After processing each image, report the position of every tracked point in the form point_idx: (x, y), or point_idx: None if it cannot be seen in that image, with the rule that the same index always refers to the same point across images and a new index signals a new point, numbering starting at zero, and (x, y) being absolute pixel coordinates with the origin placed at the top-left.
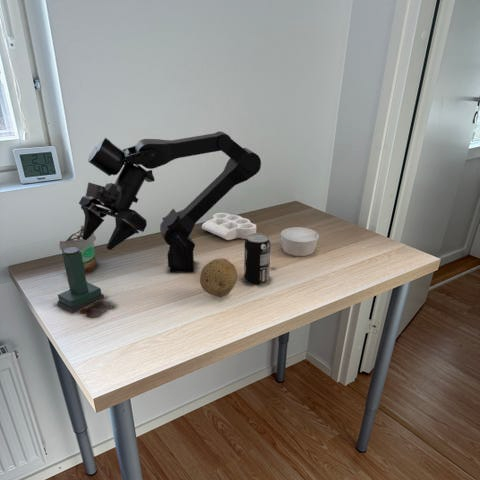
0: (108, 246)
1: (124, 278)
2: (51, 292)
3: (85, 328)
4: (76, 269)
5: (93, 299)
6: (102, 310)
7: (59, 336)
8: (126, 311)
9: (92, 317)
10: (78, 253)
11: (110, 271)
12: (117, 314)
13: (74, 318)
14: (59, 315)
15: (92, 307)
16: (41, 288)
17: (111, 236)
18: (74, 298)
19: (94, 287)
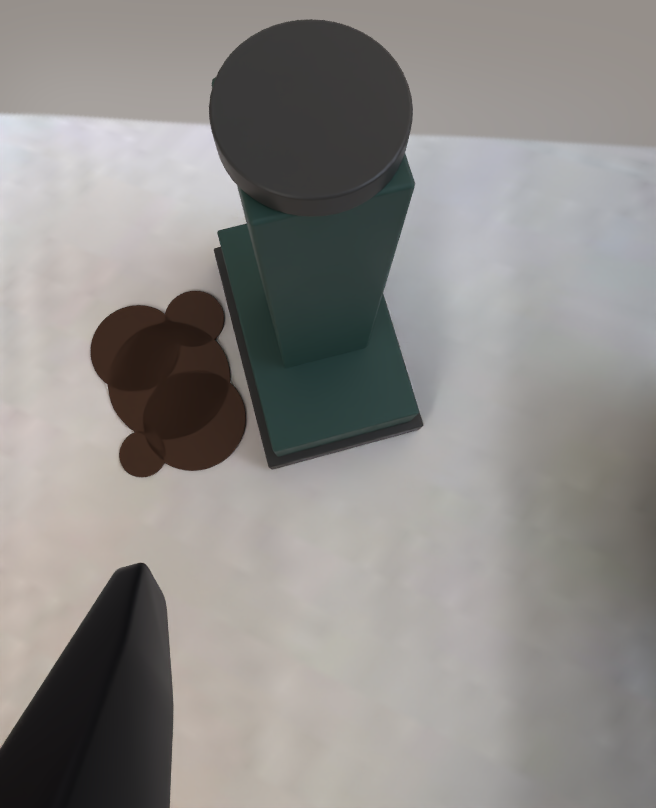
0: (105, 590)
1: (459, 711)
2: (526, 245)
3: (24, 254)
4: (247, 224)
5: (250, 391)
6: (133, 398)
7: (43, 132)
8: (32, 512)
9: (100, 324)
10: (239, 188)
11: (623, 673)
12: (38, 452)
13: (158, 246)
14: (239, 196)
15: (203, 365)
16: (607, 217)
17: (68, 747)
18: (238, 259)
19: (305, 421)
